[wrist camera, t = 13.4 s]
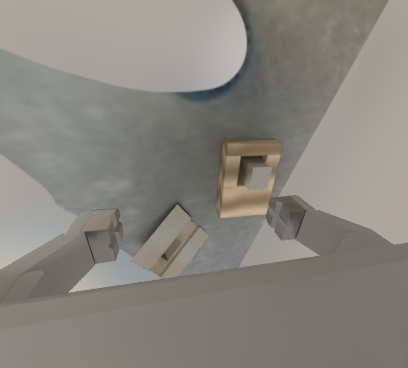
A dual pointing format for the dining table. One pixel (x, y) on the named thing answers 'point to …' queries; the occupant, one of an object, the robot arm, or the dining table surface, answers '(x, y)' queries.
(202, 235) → the beige slotted box
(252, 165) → the metal bracket bar
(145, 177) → the dining table surface
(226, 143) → the oak well block
